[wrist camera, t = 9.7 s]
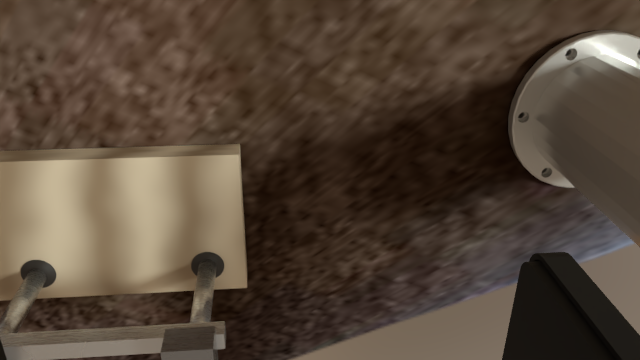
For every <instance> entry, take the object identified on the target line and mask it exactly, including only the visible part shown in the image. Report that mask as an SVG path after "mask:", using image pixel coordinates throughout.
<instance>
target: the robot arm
mask: <svg viewBox="0 0 640 360" xmlns="http://www.w3.org/2000/svg"><path fill="white" fill-rule="evenodd" d="M567 51H568V53H567V54H566V52H567ZM520 114H521V115H520ZM519 115H520V116H519ZM508 134H509V139H510V144H511V147H512V149H513V151H514V153H515V156H516V157H517V159H518V160H519V161H520V163H521V164H522V165H523V166H524V167H525V168H526V169H527V170H528V171H529V172H530V173H531V174H532V175H533V176H535V177H536V178H538V179H539V180H541V181H543V182H545V183H548V184H551V185H554V186H559V187H566V188H576V189H577V190H579V191H580V192H581V193H582V194H583V195H584V196H585V197H586V198H587V199H588V200H589V201H590V202H591V203H593V204H594V205H595V206H596V207H597V208H598V209H599V210H600V211H601V212H602V213H603V214H604V215H605V216H607V217H608V218H609V219H610V220H611V221H612V222H613V223H614V224H615V225H616V226H617V227H618V228H619V229H620V230H622V231H623V232H624V233H625V234H626V235H627V236H628V237H629V238H630V239H631V240H632V241H633V242H634V243H636V244H637V245H638V246H639V247H640V38H639V37H636V36H634V35H631V34H629V33H624V32H619V31H615V30H598V31H593V32H588V33H583V34H580V35H577V36H575V37H572V38H570V39H567V40H565V41H564V42H562V43H560V44H559V45H557V46H555V47H554V48H552V49H551V50H549V51H548V52H547V53H546V54H545V55H544V56H542V57H541V58H540V59H539V60H538V61H537V62H536V63H535V64H534V65H533V66H532V68H531V69H530V70H529V71H528V72H527V73H526V75H525V77H524V78H523V80H522V81H521V83H520V85H519V86H518V88H517V90H516V93H515V95H514V98H513V100H512V103H511V107H510V112H509V117H508ZM0 360H7V358H6V355H5V352H4V349H3V346H2V342H1V339H0ZM502 360H640V335H639V334H638V333H637V332H636V331H635V330H634V328H633V327H632V326H631V325H630V324H629V323H628V321H627V320H626V319H625V318H624V317H623V316H622V314H621V313H620V312H619V311H618V310H617V309H616V307H615V306H614V305H613V304H612V303H611V302H610V300H609V299H608V298H607V297H606V296H605V295H604V294H603V292H602V291H601V290H600V289H599V288H598V287H597V285H596V284H595V283H594V282H593V281H592V280H591V278H590V277H589V276H588V275H587V274H586V273H585V271H584V270H583V269H582V268H581V267H580V266H579V264H578V263H577V262H576V261H575V260H574V259H573V257H572V256H571V255H569V254H568V253H565V252H557V253H536V254H534V255H532V257H531V258H530V261H529V262H524V263H523V264H522V266H521V269H520V274H519V279H518V283H517V289H516V293H515V298H514V304H513V309H512V314H511V318H510V323H509V328H508V333H507V338H506V343H505V348H504V353H503V358H502Z"/></svg>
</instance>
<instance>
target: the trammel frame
mask: <svg viewBox="0 0 640 360" xmlns="http://www.w3.org/2000/svg"><path fill="white" fill-rule="evenodd" d="M216 268H217V265H216V263H215V262H214V261H213V260H211V259H204V260H202V261H201V262H200V263H199V267H198V274H197V280H196V286H195V292H194V298H193V304H192V311H191V317H190V323H185V324H167V325H149V326H132V327H114V328H96V329H78V330H61V331H43V332H25V333H8V334H0V339H1V342H2V346H3V349H4V352H5V355H6V358H7V360H51V359H67V358H84V357H100V356H117V355H133V354H150V353H161V360H218V351H217V349H225V345H226V327H225V321H220V322H210V320H211V312H212V303H213V294H214V285H215V277H216Z"/></svg>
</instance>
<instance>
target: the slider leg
mask: <svg viewBox="0 0 640 360" xmlns="http://www.w3.org/2000/svg"><path fill="white" fill-rule="evenodd" d="M46 280H47V276H46V274H45V273H44V272H43V271H41V270H38V269H33V270H31V271H29V273H28V274H27V276H26V278H25V279H24V281H23V282H22V284H21V286H20V287H19V289H18V291H17V292H16V294H15V296H14V297H13V299H12V301H11V302H10V304H9V305H8V307H7V309H6V310H5V312H4V314H3V315H2V317H1V319H0V334H8V333H17V332H18V331H19V329H20V327H21V325H22V323H23V321H24V320H25V318H26V316H27V314H28V312H29V311H30V309H31V307H32V305H33V303H34V301H35V300H36V298H37V296H38V294H39V292H40V291H41V289H42V287H43V285H44V283H45V282H46Z"/></svg>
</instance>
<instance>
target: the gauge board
mask: <svg viewBox="0 0 640 360" xmlns="http://www.w3.org/2000/svg"><path fill="white" fill-rule="evenodd" d="M204 259H211V260H213V261H214V262H215V263H216V265H217V268H216V277H215V285H214V290H216V289H235V288H247V275H248V273H247V256H246V239H245V222H244V205H243V189H242V172H241V155H240V144H220V145H185V146H151V147H117V148H83V149H49V150H15V151H0V301H2V300H12V299H13V297H14V296H15V294H16V292H17V291H18V289H19V287H20V286H21V284H22V282H23V281H24V279H25V278H26V276H27V274H28V273H29V271H31V270H33V269H38V270H41V271H43V272H44V273H45V274H46V276H47V280H46V282H45V283H44V285H43V287H42V289H41V291H40V292H39V294H38V296H37V298H36V299H41V298H60V297H80V296H99V295H119V294H138V293H157V292H177V291H195V286H196V280H197V274H198V267H199V263H200V262H201V261H202V260H204Z"/></svg>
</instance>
